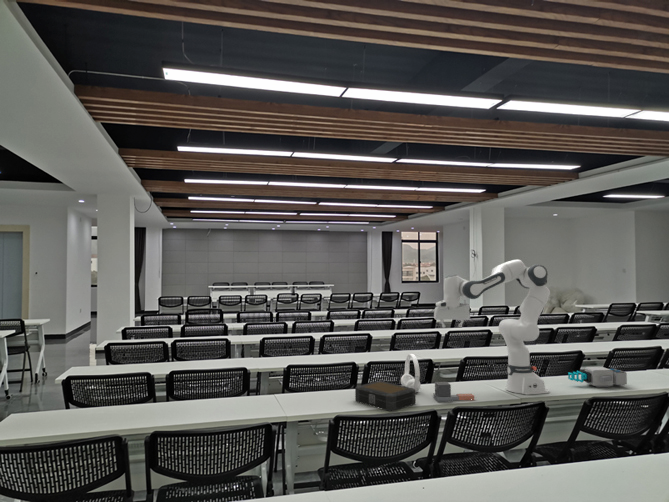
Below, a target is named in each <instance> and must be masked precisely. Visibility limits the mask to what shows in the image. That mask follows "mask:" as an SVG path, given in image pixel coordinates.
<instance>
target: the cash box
mask: <svg viewBox="0 0 669 502" xmlns="http://www.w3.org/2000/svg"><path fill="white" fill-rule="evenodd" d="M354 389H355V392H354V394H355V396H354V397H355V399H354V401H355V402H356V401H357V403H360V402H361V404H363V403H364V405H366V406H370V405H371V406H370V407H373V406H375V407H374V408H377V407H379V408H378V409H380V408H382V409H381V410H383V411H388V412H394V411H397V410H401V409H405V408H407V407H410V406H413V405H416V393H415V389H413V388H409V387H405V386H403V385H402V384H401V385H400V384H395V383H391V382H387V381H384V380H383V381H382V380H376V381H373V382H370V383H365V384H360V385H357V386H355V388H354Z"/></svg>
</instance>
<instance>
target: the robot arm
mask: <svg viewBox="0 0 669 502" xmlns="http://www.w3.org/2000/svg"><path fill="white" fill-rule="evenodd" d="M548 276H549V275H548V270H547V268H546V267H545V266H544V265H542V264H540V263H539V264H537V263H536V264H531V266H529V267H528V266H526V265H525V263H524V262H523V261H522V260H521V259H512V260H508V261H505V262H503V263H500V264H498V265H496V266H494V267H493V268H492V269H491V274H490V275H488V276H487V277H484V278H482V279H480V280H467V279H464V278H462V277H460V276H459V275H458V274H452V275H451V274H450V275H447V276H445V278H444V281H443V293H444V295H443V299H442V300H440V301H437V302H435V308H434V311H433V318H434V320H437V321H440V323H441V327H442V328H443V329H446V324H445V323H444V321H449V320H450V321H451V320H452V321H454V320H456V321H457V320H460V323H458V325H457V326H458V328H463V324H464V323H465V320H470V319H471V313H470V310H471V308H470V307H471V306H470V304H469V303H466V302H465V303H463V302H461V301H460V298H461V297H462V298H468V299H470V300H476V299H478V298H480V297H481V296H482V295H483V294H484V292H486V291H488V290H491V289H492V288H494V287H497V285H502V284H507V283H509V282H512V281H513V280H516V281H517V282H518V284H519V285H520V286H521V287H523V288H524V289H529V291H528V293H527V294H526V297H524V299H523V301H522V303H521V304H520V306H519V312H520V317H519V319H515V318H505V319H502V320H501V321H500V322H499V325H498V331H499V333H500V334H501V336H502V337H503V339H504V342H505V344H506V349H507V356H508V357H507V358H508V359H507V360H508V361H507V363H508V364H507V382H506V383H507V384H506V387H505V390H506V391H509V392H512V393H515V394H522V395H525V396H528V395H529V396H530V395H539V394H549V393H551V390H550V389H549V388H547V387H546V384H545V382H544V379H543V378H541V377H540V376H539V375H538V374H536V373H535V371H537V366H534V365H533V366H532V365H531V364H530V363H531V361H530V350H529V349H528V348H527V346H526V344H525V342H533V341H536V340H537V339H538V338H539V336H540V329H539V326H538V320H539V317H540V316H541V314H542V312H543V310H544V309H545V306H546V304H547V303H548V300H549V298H550V296H551V290H550V289H549V288H548V287H547V286H546V285H547V283H548Z"/></svg>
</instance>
